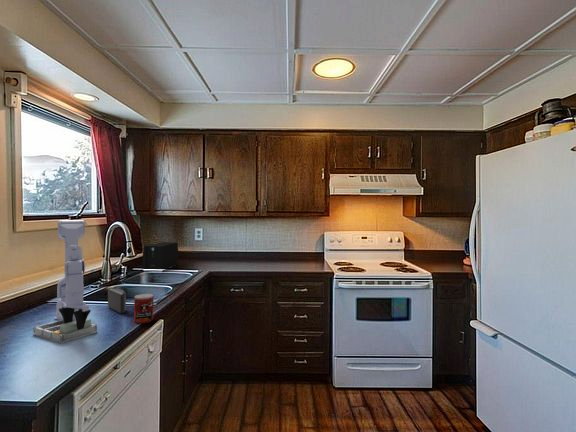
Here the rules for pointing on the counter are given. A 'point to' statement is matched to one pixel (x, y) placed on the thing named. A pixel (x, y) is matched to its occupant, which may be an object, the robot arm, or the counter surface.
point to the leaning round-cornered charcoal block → (117, 300)
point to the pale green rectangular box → (72, 326)
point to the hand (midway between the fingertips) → (74, 327)
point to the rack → (54, 334)
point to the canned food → (143, 308)
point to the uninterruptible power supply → (160, 255)
